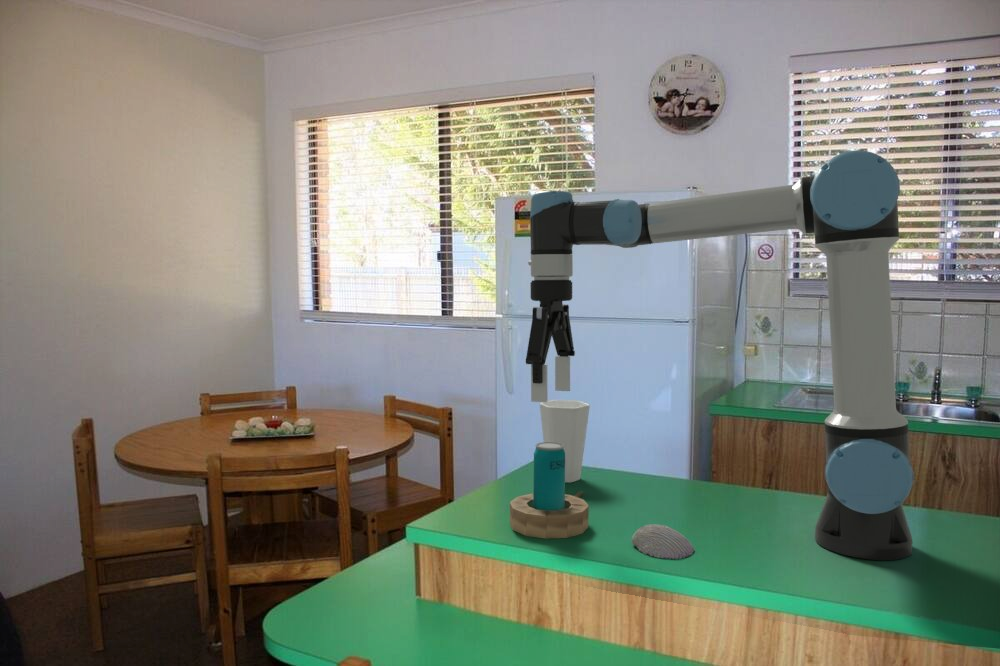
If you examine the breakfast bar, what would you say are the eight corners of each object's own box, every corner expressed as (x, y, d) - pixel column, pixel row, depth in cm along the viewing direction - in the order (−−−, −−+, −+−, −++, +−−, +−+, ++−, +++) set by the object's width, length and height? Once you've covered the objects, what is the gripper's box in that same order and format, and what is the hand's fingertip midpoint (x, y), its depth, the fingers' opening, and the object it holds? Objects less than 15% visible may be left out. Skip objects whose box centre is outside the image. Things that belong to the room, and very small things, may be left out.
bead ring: (595, 518, 146) (595, 498, 145) (574, 542, 133) (574, 519, 133) (526, 509, 151) (526, 489, 151) (499, 532, 138) (499, 510, 138)
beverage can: (570, 526, 141) (571, 446, 140) (546, 532, 138) (546, 450, 137) (551, 518, 146) (552, 440, 145) (526, 523, 143) (527, 444, 141)
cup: (590, 474, 178) (591, 401, 177) (586, 486, 168) (587, 408, 167) (542, 471, 180) (542, 399, 179) (536, 483, 170) (536, 406, 169)
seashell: (628, 520, 136) (685, 510, 135) (634, 550, 136) (691, 541, 135) (629, 538, 126) (691, 528, 125) (636, 571, 126) (697, 561, 125)
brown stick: (582, 494, 161) (582, 492, 161) (562, 514, 148) (562, 511, 148) (578, 494, 162) (578, 491, 162) (558, 513, 149) (558, 510, 149)
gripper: (552, 278, 151) (553, 385, 153) (506, 279, 128) (507, 405, 130) (590, 278, 148) (589, 387, 150) (549, 279, 125) (549, 408, 127)
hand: (551, 396), depth 140 cm, fingers open, 13 cm apart
